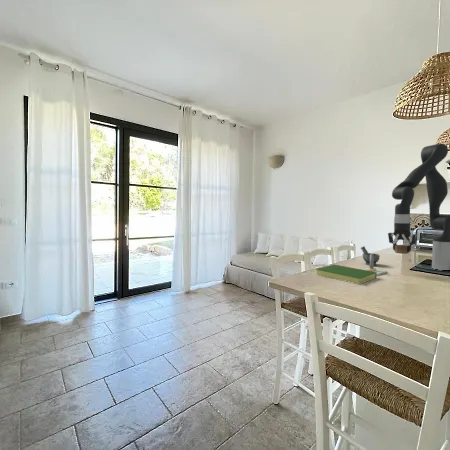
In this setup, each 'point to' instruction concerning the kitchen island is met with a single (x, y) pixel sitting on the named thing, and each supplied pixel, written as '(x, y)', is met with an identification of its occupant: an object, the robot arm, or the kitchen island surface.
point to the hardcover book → (347, 273)
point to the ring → (401, 249)
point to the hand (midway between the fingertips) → (401, 251)
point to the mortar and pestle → (367, 256)
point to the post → (379, 272)
